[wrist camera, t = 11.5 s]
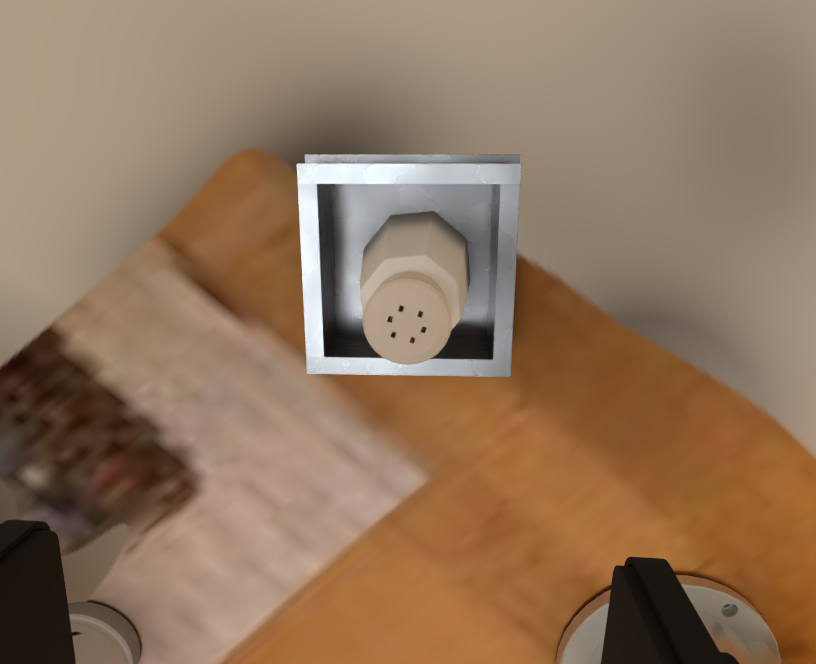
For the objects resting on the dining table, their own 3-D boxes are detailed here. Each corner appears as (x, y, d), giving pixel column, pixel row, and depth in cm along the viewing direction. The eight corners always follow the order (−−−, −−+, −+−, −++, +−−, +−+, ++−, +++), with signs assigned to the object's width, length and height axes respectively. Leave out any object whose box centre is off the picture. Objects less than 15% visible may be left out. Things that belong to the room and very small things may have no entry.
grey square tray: (518, 154, 28) (531, 153, 24) (507, 356, 31) (518, 385, 27) (307, 154, 28) (286, 153, 24) (316, 353, 31) (298, 381, 27)
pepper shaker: (488, 227, 28) (519, 267, 18) (453, 331, 30) (462, 425, 19) (379, 193, 28) (345, 213, 17) (349, 300, 30) (301, 378, 19)
